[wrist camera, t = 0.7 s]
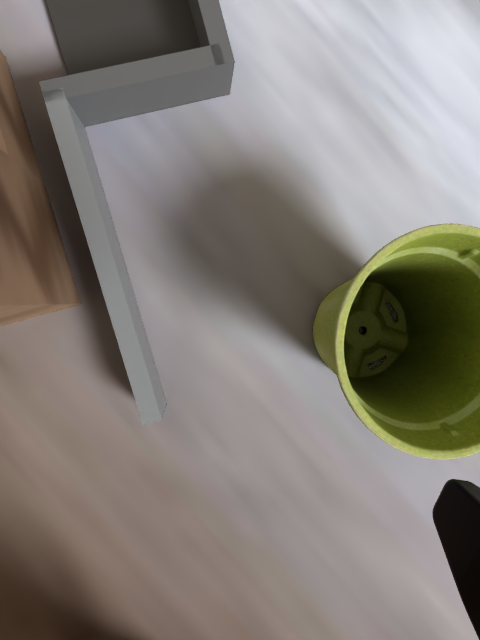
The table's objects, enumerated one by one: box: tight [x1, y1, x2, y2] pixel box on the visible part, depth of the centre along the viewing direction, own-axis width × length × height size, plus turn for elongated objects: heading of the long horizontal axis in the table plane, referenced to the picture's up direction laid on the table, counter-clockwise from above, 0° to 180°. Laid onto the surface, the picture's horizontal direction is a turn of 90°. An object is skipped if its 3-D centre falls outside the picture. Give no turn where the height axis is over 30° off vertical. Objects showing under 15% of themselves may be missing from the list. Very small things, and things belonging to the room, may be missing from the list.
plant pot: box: [313, 224, 480, 459], centre depth 19 cm, size 9×9×9 cm
